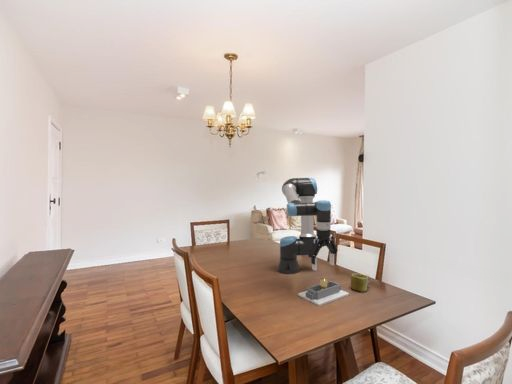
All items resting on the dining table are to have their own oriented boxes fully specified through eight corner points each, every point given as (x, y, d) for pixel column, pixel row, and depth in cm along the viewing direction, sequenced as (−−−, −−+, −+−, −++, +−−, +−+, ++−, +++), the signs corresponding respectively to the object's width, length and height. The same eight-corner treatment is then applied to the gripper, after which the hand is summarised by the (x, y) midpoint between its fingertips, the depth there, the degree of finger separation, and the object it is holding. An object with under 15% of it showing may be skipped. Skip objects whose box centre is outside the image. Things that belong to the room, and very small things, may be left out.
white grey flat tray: (298, 295, 153) (298, 286, 153) (327, 285, 166) (327, 277, 166) (319, 306, 140) (319, 296, 140) (349, 295, 153) (349, 286, 152)
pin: (318, 293, 153) (318, 278, 153) (323, 291, 156) (323, 277, 155) (324, 295, 150) (324, 281, 150) (329, 293, 152) (329, 279, 152)
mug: (357, 291, 153) (357, 272, 156) (346, 290, 162) (346, 272, 165) (376, 293, 155) (376, 274, 158) (365, 292, 165) (365, 274, 168)
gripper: (311, 233, 141) (311, 274, 143) (344, 227, 155) (343, 264, 156) (301, 230, 147) (301, 269, 149) (333, 225, 161) (333, 261, 163)
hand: (323, 267), depth 153 cm, fingers open, 13 cm apart
